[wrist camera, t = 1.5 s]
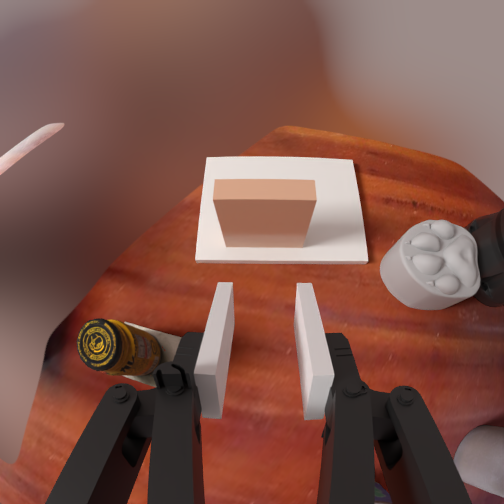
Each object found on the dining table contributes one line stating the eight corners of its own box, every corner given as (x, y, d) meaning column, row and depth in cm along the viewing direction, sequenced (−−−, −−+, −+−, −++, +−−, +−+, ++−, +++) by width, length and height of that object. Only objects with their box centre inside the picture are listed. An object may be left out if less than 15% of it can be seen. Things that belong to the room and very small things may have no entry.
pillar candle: (503, 427, 28) (566, 430, 15) (481, 481, 25) (539, 499, 11) (466, 421, 30) (533, 428, 16) (441, 480, 27) (501, 507, 13)
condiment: (125, 322, 38) (79, 301, 27) (182, 337, 37) (150, 323, 26) (113, 372, 35) (62, 369, 24) (170, 391, 34) (133, 399, 23)
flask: (315, 490, 29) (332, 526, 19) (323, 472, 30) (344, 504, 20) (377, 498, 27) (408, 528, 17) (385, 480, 28) (419, 507, 18)
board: (350, 164, 46) (352, 160, 45) (365, 264, 40) (368, 261, 39) (208, 162, 47) (206, 157, 46) (197, 262, 41) (195, 259, 40)
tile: (301, 229, 41) (314, 177, 30) (302, 247, 40) (316, 200, 29) (227, 229, 41) (214, 177, 30) (226, 247, 40) (212, 199, 29)
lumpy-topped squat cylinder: (454, 312, 37) (489, 297, 29) (378, 305, 38) (405, 288, 30) (450, 247, 40) (480, 223, 32) (379, 235, 41) (402, 205, 33)
